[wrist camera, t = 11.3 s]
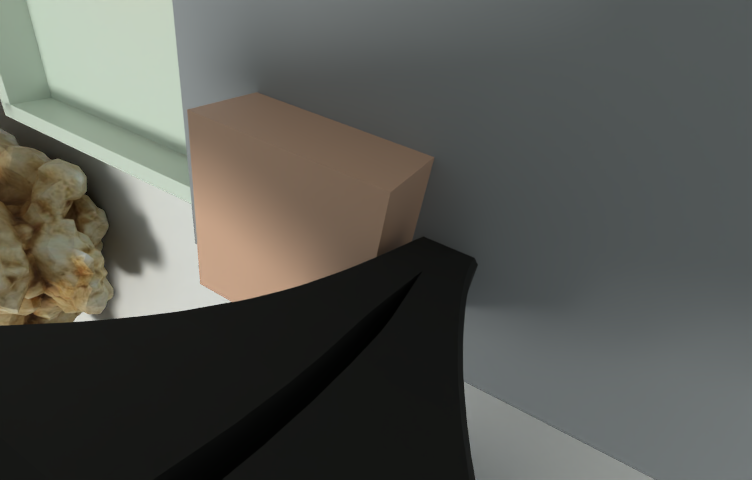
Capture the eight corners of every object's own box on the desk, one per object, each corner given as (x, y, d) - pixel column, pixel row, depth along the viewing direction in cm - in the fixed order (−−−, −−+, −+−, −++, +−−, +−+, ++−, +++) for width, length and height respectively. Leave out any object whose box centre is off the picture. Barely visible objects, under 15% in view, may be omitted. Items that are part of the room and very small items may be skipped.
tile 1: (391, 318, 11) (352, 369, 10) (254, 248, 12) (200, 284, 11) (434, 157, 9) (390, 192, 7) (256, 92, 10) (187, 109, 8)
